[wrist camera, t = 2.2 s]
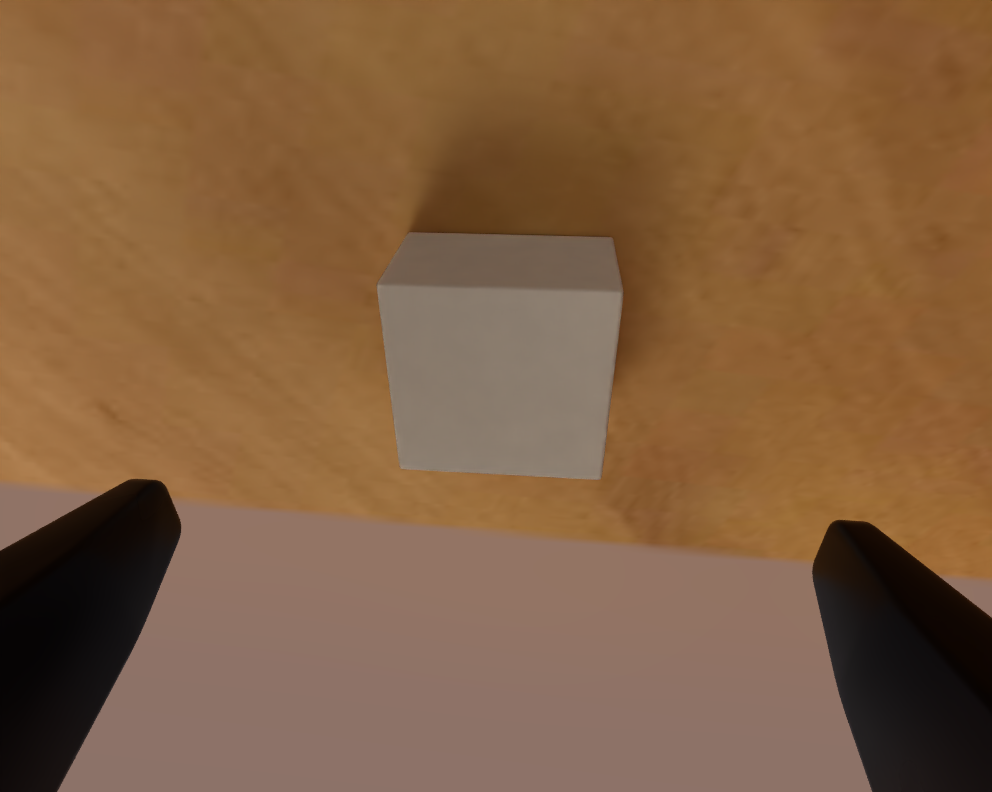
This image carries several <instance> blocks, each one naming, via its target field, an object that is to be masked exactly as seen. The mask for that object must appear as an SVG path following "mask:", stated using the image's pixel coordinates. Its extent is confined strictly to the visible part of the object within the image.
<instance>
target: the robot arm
mask: <svg viewBox="0 0 992 792" xmlns="http://www.w3.org/2000/svg"><path fill="white" fill-rule="evenodd" d="M180 533H181V522H180V519H179V516H178V514H177V511H176V509H175V507H174V504H173V502H172V499H171V497H170V495H169V492H168V490H167V488H166V486H165V485H164V484H163V483H162V482H161V481H158V480H147V479H131V480H128V481H126V482H124V483H122V484H120V485H118V486H116V487H115V488H113V489H111V490H109V491H107V492H106V493H104V494H102V495H100V496H98V497H97V498H95V499H93V500H91V501H89V502H87V503H86V504H84V505H82V506H80V507H79V508H77V509H75V510H73V511H71V512H69V513H68V514H66V515H64V516H62V517H60V518H59V519H57V520H55V521H53V522H52V523H50V524H48V525H46V526H44V527H42V528H40V529H39V530H37V531H36V532H33V533H31V534H30V535H28V536H26V537H24V538H23V539H21V540H19V541H17V542H15V543H14V544H12V545H10V546H8V547H6V548H4V549H3V550H1V551H0V792H57V791H58V789H59V787H60V785H61V784H62V782H63V779H64V778H65V776H66V774H67V772H68V770H69V769H70V767H71V765H72V763H73V761H74V759H75V757H76V755H77V753H78V751H79V750H80V748H81V746H82V744H83V742H84V740H85V738H86V737H87V735H88V733H89V731H90V729H91V727H92V725H93V723H94V721H95V719H96V718H97V716H98V714H99V712H100V710H101V708H102V706H103V705H104V703H105V701H106V699H107V697H108V695H109V693H110V691H111V689H112V688H113V686H114V684H115V682H116V680H117V678H118V676H119V674H120V672H121V671H122V669H123V667H124V665H125V663H126V661H127V659H128V657H129V656H130V654H131V652H132V650H133V648H134V646H135V643H136V641H137V640H138V637H139V635H140V633H141V631H142V628H143V626H144V624H145V622H146V619H147V617H148V614H149V612H150V610H151V607H152V605H153V602H154V600H155V597H156V595H157V592H158V590H159V588H160V585H161V583H162V580H163V578H164V575H165V573H166V570H167V568H168V566H169V563H170V561H171V558H172V556H173V553H174V551H175V548H176V546H177V543H178V541H179V538H180ZM812 574H813V582H814V587H815V591H816V596H817V600H818V604H819V609H820V613H821V618H822V622H823V626H824V631H825V636H826V640H827V644H828V649H829V653H830V658H831V662H832V666H833V671H834V675H835V679H836V683H837V687H838V691H839V695H840V698H841V701H842V704H843V708H844V711H845V714H846V717H847V720H848V723H849V725H850V728H851V731H852V734H853V737H854V740H855V743H856V746H857V749H858V752H859V755H860V758H861V760H862V763H863V766H864V769H865V772H866V775H867V778H868V781H869V784H870V787H871V789H872V792H992V618H991V617H990V616H989V615H987V614H986V613H985V612H984V611H982V610H981V609H980V608H979V607H977V606H976V605H975V604H973V603H972V602H971V601H969V600H968V599H967V598H966V597H965V596H963V595H962V594H961V593H959V592H958V591H957V590H955V589H954V588H953V587H952V586H950V585H949V584H948V583H947V582H945V581H944V580H943V579H942V578H940V577H939V576H938V575H936V574H935V573H934V572H933V571H931V570H930V569H929V568H927V567H926V566H925V565H924V564H922V563H921V562H920V561H919V560H917V559H916V558H915V557H913V556H912V555H911V554H910V553H908V552H907V551H906V550H904V549H903V548H902V547H901V546H899V545H898V544H897V543H896V542H894V541H893V540H892V539H890V538H889V537H888V536H887V535H885V534H884V533H883V532H881V531H880V530H879V529H878V528H876V527H875V526H873V525H872V524H870V523H868V522H864V521H850V520H836V521H834V522H832V523H831V524H830V526H829V527H828V529H827V532H826V534H825V536H824V539H823V541H822V543H821V546H820V548H819V550H818V553H817V555H816V558H815V560H814V563H813V571H812Z"/></svg>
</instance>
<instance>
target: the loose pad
mask: <svg viewBox="0 0 992 792" xmlns="http://www.w3.org/2000/svg"><path fill="white" fill-rule="evenodd" d="M377 292H378V300H379V308H380V316H381V324H382V332H383V340H384V348H385V355H386V363H387V371H388V379H389V387H390V395H391V403H392V411H393V419H394V427H395V435H396V443H397V451H398V459H399V466H400V468H401V469H411V470H430V471H448V472H466V473H484V474H503V475H521V476H539V477H557V478H575V479H594V480H600V479H601V477H602V470H603V462H604V453H605V445H606V437H607V429H608V420H609V412H610V404H611V395H612V387H613V379H614V370H615V362H616V354H617V346H618V337H619V329H620V321H621V312H622V304H623V296H624V291H623V286H622V281H621V276H620V271H619V266H618V261H617V256H616V251H615V246H614V241H613V238H611V237H582V236H541V235H499V234H457V233H416V232H409V233H408V234H407V235H406V237H405V239H404V240H403V242H402V243H401V245H400V247H399V248H398V250H397V252H396V253H395V255H394V256H393V258H392V260H391V261H390V263H389V265H388V266H387V268H386V269H385V271H384V273H383V274H382V276H381V278H380V279H379V281H378V282H377Z"/></svg>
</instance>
